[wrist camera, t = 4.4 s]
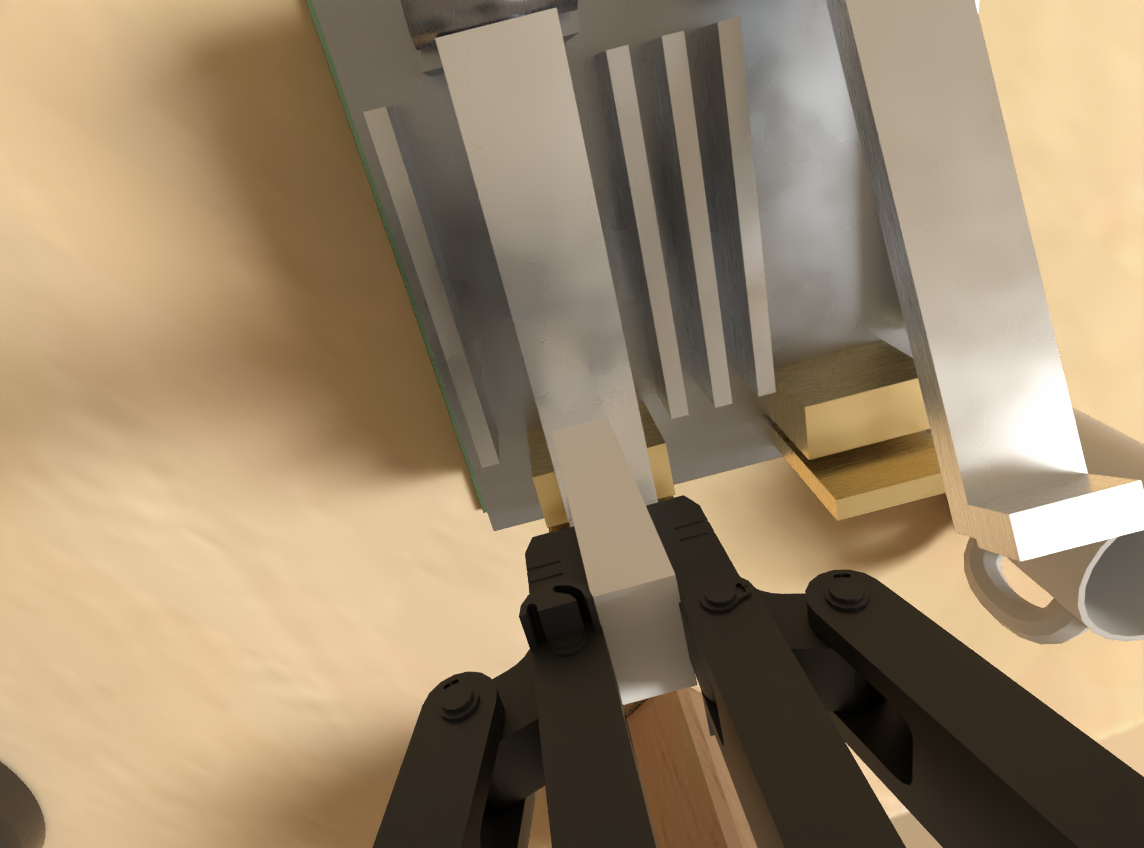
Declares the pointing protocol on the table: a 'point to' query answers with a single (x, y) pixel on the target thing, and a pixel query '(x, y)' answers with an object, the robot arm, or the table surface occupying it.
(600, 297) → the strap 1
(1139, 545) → the cup
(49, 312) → the table surface
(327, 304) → the table surface
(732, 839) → the wooden block
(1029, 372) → the silver long flat bar
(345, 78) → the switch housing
